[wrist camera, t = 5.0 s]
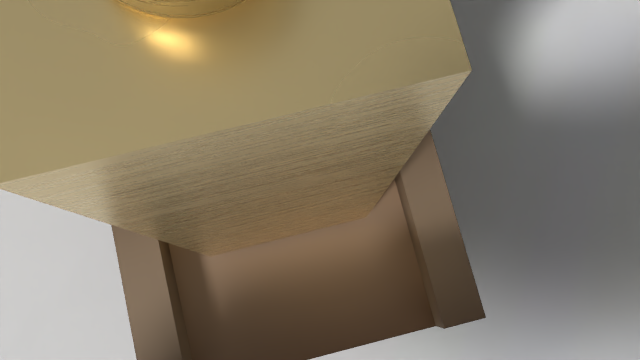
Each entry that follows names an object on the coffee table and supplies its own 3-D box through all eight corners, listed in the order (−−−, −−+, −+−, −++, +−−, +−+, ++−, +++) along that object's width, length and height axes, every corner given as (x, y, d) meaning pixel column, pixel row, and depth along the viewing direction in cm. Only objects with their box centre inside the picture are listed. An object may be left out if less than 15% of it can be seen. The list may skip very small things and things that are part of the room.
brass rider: (366, 217, 15) (522, 0, 4) (210, 256, 14) (-120, 149, 3) (327, 70, 15) (358, -479, 4) (177, 106, 15) (-183, -381, 4)
